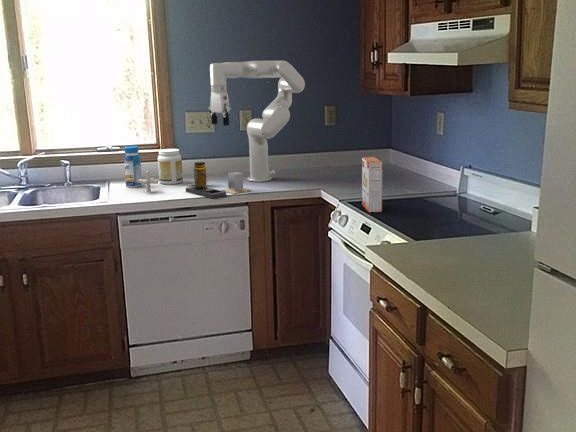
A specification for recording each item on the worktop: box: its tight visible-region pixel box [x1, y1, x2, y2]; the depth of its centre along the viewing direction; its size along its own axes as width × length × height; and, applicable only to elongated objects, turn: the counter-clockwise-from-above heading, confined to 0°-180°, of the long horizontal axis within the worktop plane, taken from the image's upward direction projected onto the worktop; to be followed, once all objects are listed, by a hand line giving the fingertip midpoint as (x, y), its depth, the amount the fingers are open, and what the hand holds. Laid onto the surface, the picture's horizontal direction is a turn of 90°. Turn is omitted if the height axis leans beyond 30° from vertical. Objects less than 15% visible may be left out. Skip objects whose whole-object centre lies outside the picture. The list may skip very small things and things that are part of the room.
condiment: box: [188, 161, 210, 187], centre depth 327 cm, size 7×8×12 cm
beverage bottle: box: [123, 145, 143, 188], centre depth 328 cm, size 8×8×20 cm
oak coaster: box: [220, 187, 252, 195], centre depth 314 cm, size 10×10×1 cm
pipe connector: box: [138, 170, 159, 193], centre depth 315 cm, size 10×10×10 cm
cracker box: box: [361, 156, 383, 214], centre depth 270 cm, size 14×6×21 cm, turn 5°
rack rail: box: [185, 186, 227, 199], centre depth 308 cm, size 8×22×2 cm, turn 42°
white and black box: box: [227, 171, 244, 191], centre depth 313 cm, size 5×5×8 cm
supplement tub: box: [157, 148, 184, 185], centre depth 336 cm, size 12×12×17 cm
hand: (220, 124), depth 321 cm, fingers open, 9 cm apart
